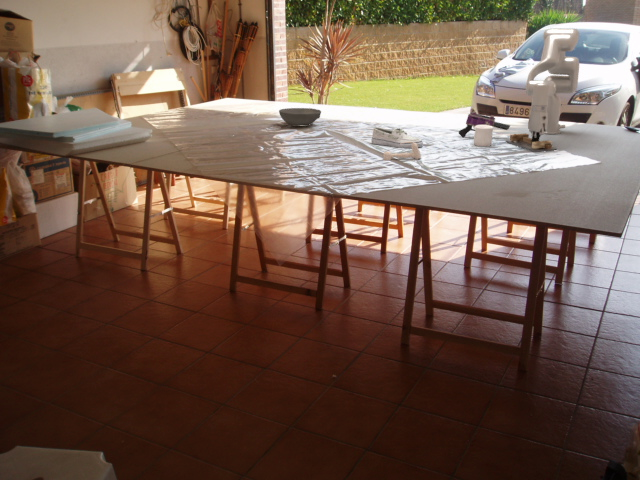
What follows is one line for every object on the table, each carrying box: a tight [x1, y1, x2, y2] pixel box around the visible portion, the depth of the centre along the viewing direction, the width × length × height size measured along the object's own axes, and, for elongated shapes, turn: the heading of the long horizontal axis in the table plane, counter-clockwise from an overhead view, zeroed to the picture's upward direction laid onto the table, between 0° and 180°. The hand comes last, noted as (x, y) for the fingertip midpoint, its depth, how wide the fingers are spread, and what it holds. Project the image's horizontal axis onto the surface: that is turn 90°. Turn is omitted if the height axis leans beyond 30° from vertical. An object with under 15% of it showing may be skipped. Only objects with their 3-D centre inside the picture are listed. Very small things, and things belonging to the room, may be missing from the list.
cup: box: [473, 125, 494, 147], centre depth 309 cm, size 10×10×10 cm
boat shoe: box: [371, 126, 424, 149], centre depth 312 cm, size 11×29×10 cm, turn 65°
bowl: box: [278, 107, 322, 126], centre depth 370 cm, size 26×26×10 cm
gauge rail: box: [509, 133, 553, 149], centre depth 305 cm, size 10×26×5 cm, turn 16°
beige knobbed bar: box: [382, 142, 422, 161], centre depth 284 cm, size 4×18×10 cm, turn 91°
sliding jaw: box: [532, 139, 553, 148], centre depth 296 cm, size 10×3×3 cm, turn 106°
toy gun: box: [458, 111, 511, 138], centre depth 326 cm, size 3×26×15 cm, turn 78°
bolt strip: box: [505, 139, 558, 154], centre depth 305 cm, size 13×26×1 cm, turn 16°
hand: (534, 144), depth 299 cm, fingers closed
